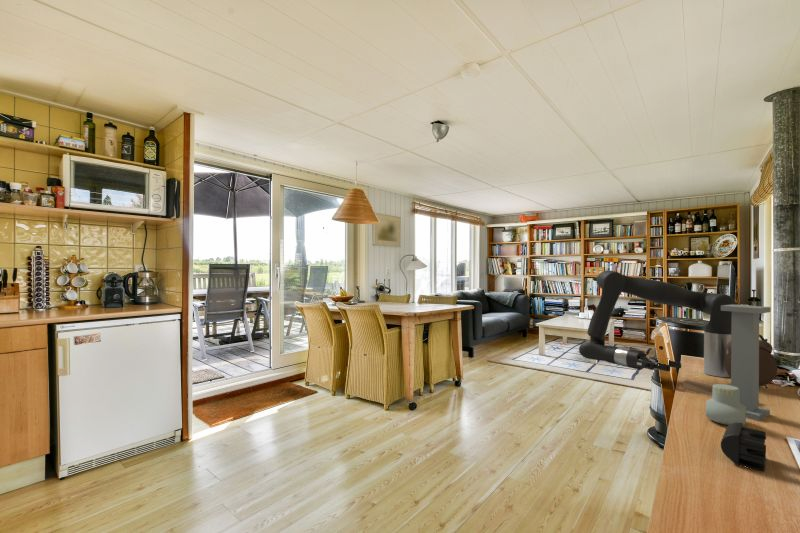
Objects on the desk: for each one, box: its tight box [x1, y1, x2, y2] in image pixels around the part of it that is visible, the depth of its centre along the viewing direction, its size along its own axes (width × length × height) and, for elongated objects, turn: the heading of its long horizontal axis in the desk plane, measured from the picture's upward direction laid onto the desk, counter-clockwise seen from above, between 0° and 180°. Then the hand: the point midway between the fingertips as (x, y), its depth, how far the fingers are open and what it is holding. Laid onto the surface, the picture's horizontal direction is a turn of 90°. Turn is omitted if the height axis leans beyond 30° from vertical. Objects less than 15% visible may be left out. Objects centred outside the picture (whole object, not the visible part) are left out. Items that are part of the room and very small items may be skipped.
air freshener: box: [705, 383, 747, 426], centre depth 108 cm, size 11×8×10 cm
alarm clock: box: [725, 333, 778, 389], centre depth 142 cm, size 15×7×20 cm, turn 84°
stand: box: [721, 304, 772, 422], centre depth 116 cm, size 9×9×32 cm
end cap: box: [720, 423, 767, 473], centre depth 87 cm, size 10×7×7 cm
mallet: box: [682, 379, 714, 397], centre depth 132 cm, size 6×16×4 cm, turn 31°
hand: (675, 367), depth 142 cm, fingers open, 8 cm apart
